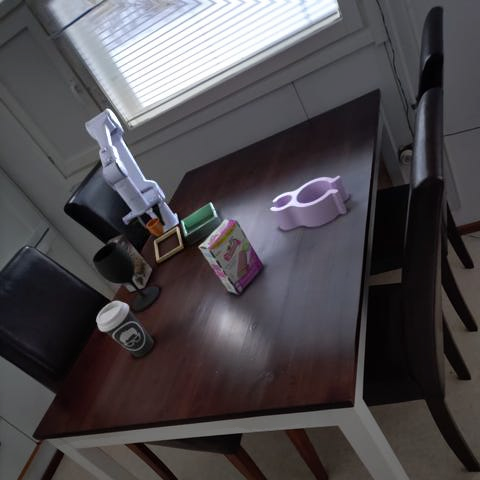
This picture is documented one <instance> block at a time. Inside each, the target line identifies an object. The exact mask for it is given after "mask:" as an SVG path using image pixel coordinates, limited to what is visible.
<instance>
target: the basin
mask: <svg viewBox="0 0 480 480" xmlns="http://www.w3.org/2000/svg"><path fill="white" fill-rule="evenodd" d="M221 223H222V221H221V218H220V215H219V214H218V211H217V209H216V207H215V206H214V204H213V203H212V202H209V203H207V204H205V205H204V206H202V207H201V208H199V209H198V210H196V211H195V212H193V213H192V214H189V215H188V216H187V217H185V218H184V219H182V220H180V224H181V228H182V231H183V235H184V238H185V240H186V241H187V242H188V243H189V245H190V246H191V245H193V244H194V243H196V242H197V241H199V240H201V239H203V238H204V237H205V236H207V235H208V234H209V235H210V234H211V233H213V232H214V231H215V230H216V229H217V227H218V226H219V225H220V224H221Z"/></svg>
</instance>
